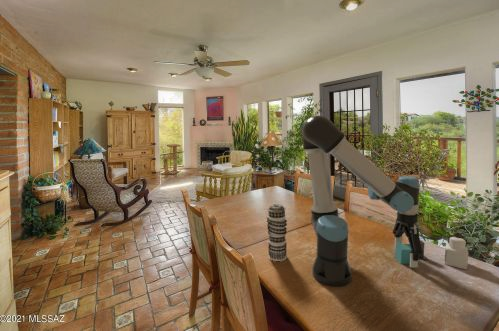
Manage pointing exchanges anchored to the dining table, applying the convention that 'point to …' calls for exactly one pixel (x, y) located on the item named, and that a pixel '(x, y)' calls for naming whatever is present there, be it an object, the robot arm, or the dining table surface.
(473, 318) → the dining table surface
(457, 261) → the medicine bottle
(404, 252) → the teal cube
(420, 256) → the dark grey upright block
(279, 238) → the model tower building
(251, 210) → the dining table surface
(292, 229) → the dining table surface
